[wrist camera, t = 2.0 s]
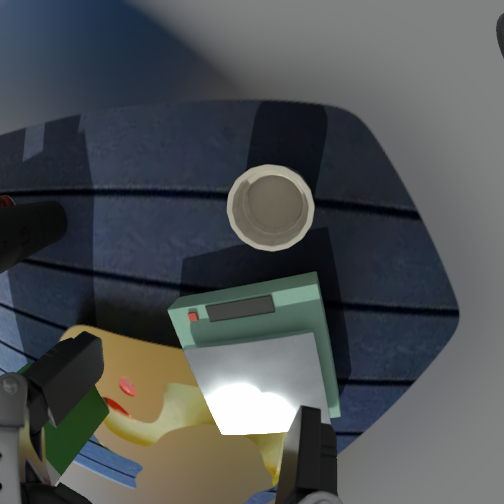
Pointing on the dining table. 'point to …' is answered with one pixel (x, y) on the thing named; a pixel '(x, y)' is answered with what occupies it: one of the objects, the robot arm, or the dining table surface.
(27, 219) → the drinking cup
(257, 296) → the scale
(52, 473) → the hardback book
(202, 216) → the dining table surface
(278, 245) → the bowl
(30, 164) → the dining table surface
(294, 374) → the scale pan
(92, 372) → the robot arm
